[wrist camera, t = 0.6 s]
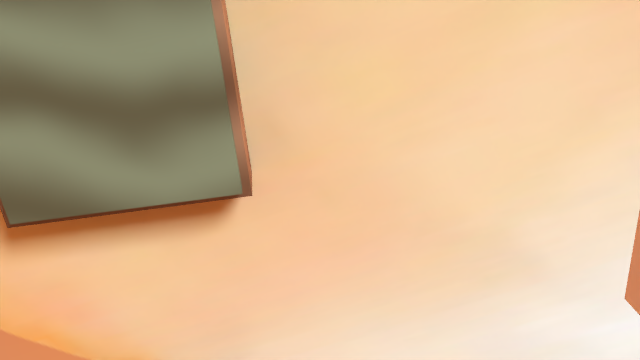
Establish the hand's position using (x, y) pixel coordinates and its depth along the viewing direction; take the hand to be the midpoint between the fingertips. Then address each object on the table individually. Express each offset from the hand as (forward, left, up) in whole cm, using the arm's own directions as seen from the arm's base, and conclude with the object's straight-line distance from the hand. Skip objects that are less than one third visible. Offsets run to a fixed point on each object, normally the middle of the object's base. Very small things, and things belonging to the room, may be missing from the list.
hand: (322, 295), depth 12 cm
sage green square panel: (+1, -9, -25) cm, 26 cm away
